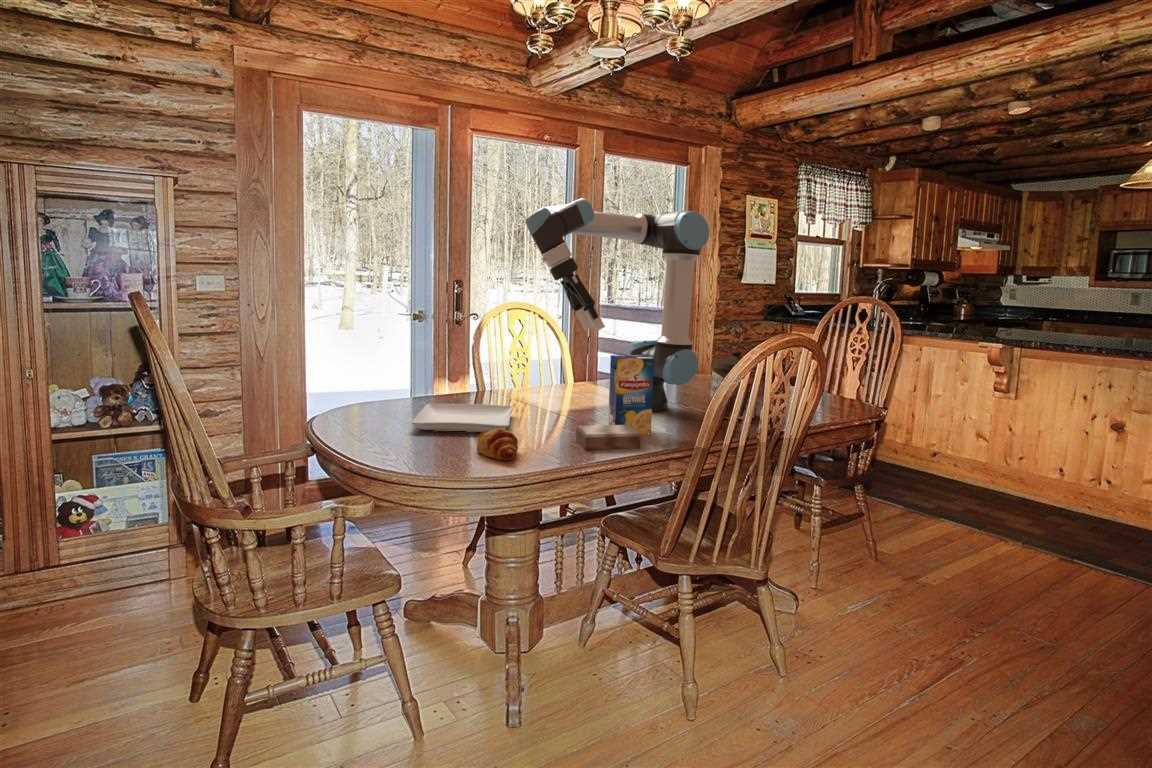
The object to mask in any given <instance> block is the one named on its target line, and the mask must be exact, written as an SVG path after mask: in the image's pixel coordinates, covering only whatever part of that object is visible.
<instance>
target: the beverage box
mask: <svg viewBox="0 0 1152 768" xmlns="http://www.w3.org/2000/svg"><path fill="white" fill-rule="evenodd" d="M654 359H655V358H652V357H650V356H647V355H630V354H627V355H626V354H623V355H622V354H621V355H620V354H618V355H617V354H615V355H610V361H609V362H610V363H609V364H610V365H609V367H610V368H609V369H610V370H609V391H608V392H609V394H608V418H607V419H608V420H607V421H608V422H607V425H629V426H630V427H631V428H632V429H634V430H635V431H636V432H638V433H639V434H640V435H649V434H648V433H651V434H652V416H653V415H652V414H653V412H652V399H653V378H654Z"/></svg>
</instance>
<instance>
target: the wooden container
mask: <svg viewBox="0 0 1152 768" xmlns="http://www.w3.org/2000/svg"><path fill="white" fill-rule="evenodd" d="M730 354H731V355H730V356H729V357H728V358H727V357H726V358H724V357H723V358H714V359H712V366H711V367H712V369H711V371H712V372H711V384H710V395H709V397H710V400H711V398H712V397H713V395H714V393H715V392H716V390H717V388H718V386H719V385H720V384H721V382H722V380H723V379H724V377H725V376H726V374H727V373H728V372H729V371H730V370H731V369H732V367H733V366H734V365H735V364H736V363H737V362H738V361H739V360H740V359H741V358H742V356H741V355H742V351H741V350H740V349H737V348H733V349H731V351H730ZM749 387H750V382H749V384H748V387H747V391H746V395H745V398H744V401H743V405H742V409H741V412H740V417H741V416H743V413H744V410H745V407H746V404H747V399H748V394H749ZM734 397H735V394H734V395H733V396H732V398H731V399H730V401H729V403H728V404H727V406H726V410H725V416H726V417H729V414H730V412H731V409H732V406H733V402H734ZM710 400H709V401H710ZM756 412H757V407H756V408H755V414H754V417H755V418H756V416H755V415H756V414H757V413H756ZM725 416H724V417H725Z"/></svg>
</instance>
